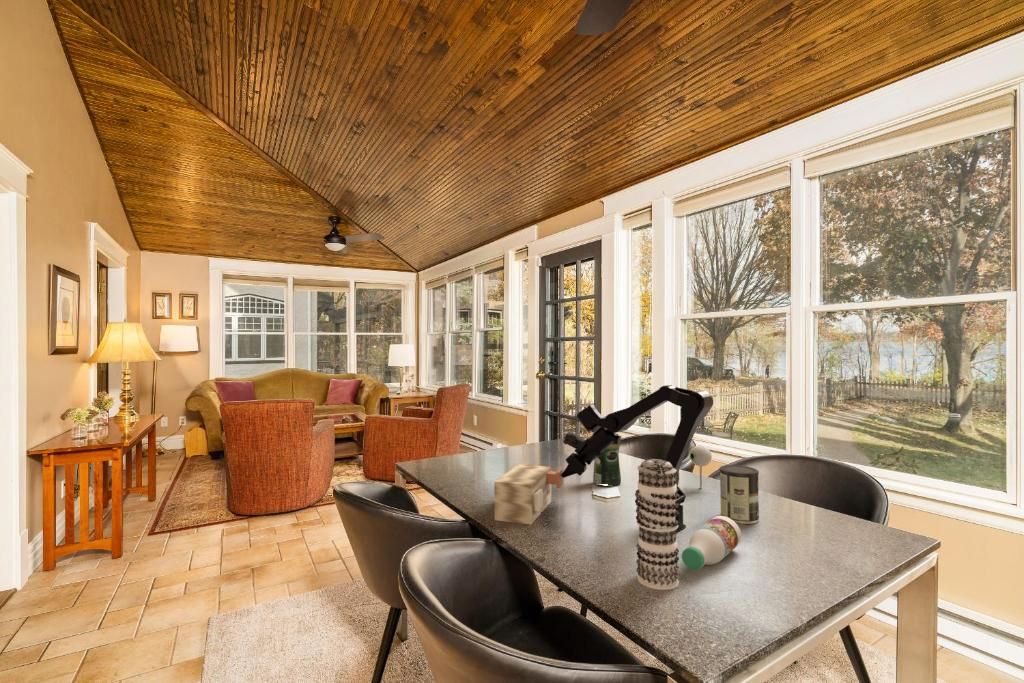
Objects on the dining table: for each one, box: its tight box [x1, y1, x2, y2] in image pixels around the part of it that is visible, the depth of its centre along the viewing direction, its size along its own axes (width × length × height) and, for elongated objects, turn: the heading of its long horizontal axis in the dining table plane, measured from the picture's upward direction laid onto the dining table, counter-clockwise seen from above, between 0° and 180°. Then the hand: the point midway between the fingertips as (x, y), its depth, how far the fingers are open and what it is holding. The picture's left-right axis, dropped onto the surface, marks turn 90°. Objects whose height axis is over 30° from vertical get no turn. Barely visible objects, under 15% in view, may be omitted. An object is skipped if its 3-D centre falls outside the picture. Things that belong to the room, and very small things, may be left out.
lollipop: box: [689, 445, 713, 489], centre depth 167 cm, size 7×7×15 cm
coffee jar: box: [592, 433, 622, 486], centre depth 173 cm, size 10×8×19 cm
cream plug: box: [533, 489, 543, 511], centre depth 137 cm, size 12×5×5 cm, turn 71°
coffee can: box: [718, 464, 760, 525], centre depth 138 cm, size 10×10×14 cm
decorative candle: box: [634, 458, 680, 591], centre depth 101 cm, size 9×9×25 cm
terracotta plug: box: [547, 468, 564, 489], centre depth 151 cm, size 12×5×5 cm, turn 71°
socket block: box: [493, 463, 552, 526], centre depth 145 cm, size 11×22×11 cm, turn 161°
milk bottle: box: [681, 515, 742, 571], centre depth 110 cm, size 8×8×20 cm
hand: (562, 476), depth 149 cm, fingers closed, pressing on terracotta plug
